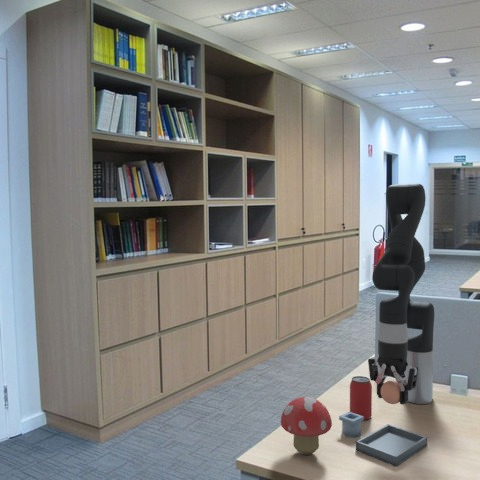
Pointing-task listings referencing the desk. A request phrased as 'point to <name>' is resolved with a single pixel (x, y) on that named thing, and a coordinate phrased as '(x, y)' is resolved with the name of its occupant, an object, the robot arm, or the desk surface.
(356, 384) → the beer can
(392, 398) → the ball
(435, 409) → the desk surface
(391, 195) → the robot arm
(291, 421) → the decorative mushroom
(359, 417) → the square to round adapter
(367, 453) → the tray
